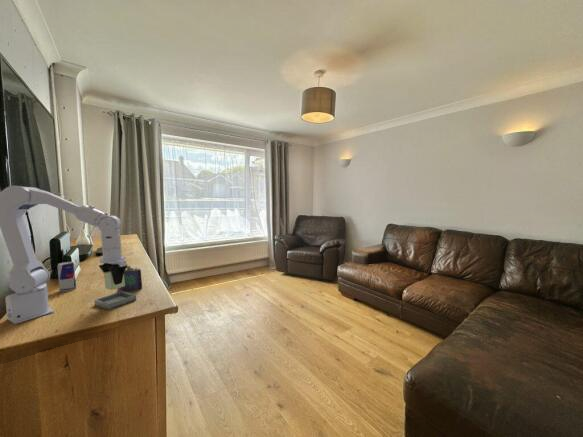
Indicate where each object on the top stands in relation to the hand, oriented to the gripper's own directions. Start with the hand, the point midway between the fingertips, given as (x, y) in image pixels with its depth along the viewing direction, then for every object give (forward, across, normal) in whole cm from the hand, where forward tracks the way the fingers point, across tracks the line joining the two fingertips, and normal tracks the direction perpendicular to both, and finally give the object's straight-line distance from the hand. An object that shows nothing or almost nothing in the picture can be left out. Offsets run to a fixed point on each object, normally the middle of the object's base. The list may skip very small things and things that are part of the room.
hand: (114, 282), depth 91 cm
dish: (+8, 0, 0) cm, 8 cm away
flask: (+8, +9, -10) cm, 16 cm away
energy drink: (+8, +35, +2) cm, 36 cm away
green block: (+2, 0, 0) cm, 2 cm away
